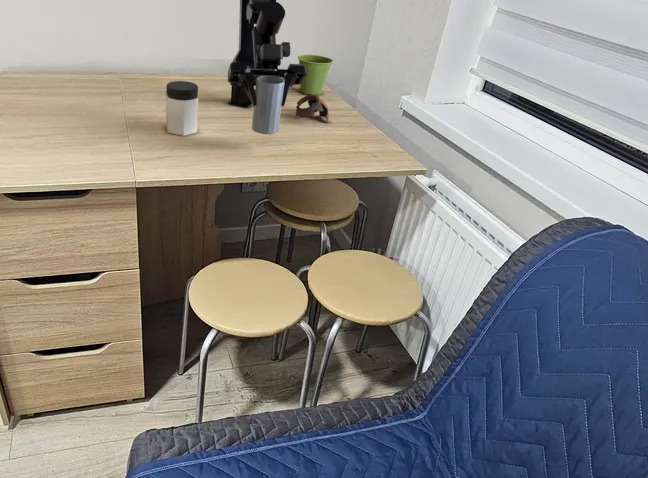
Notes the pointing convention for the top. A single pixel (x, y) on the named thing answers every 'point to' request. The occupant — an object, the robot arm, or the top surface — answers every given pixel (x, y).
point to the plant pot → (314, 73)
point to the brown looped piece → (312, 107)
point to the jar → (181, 107)
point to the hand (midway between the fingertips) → (268, 105)
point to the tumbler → (267, 104)
